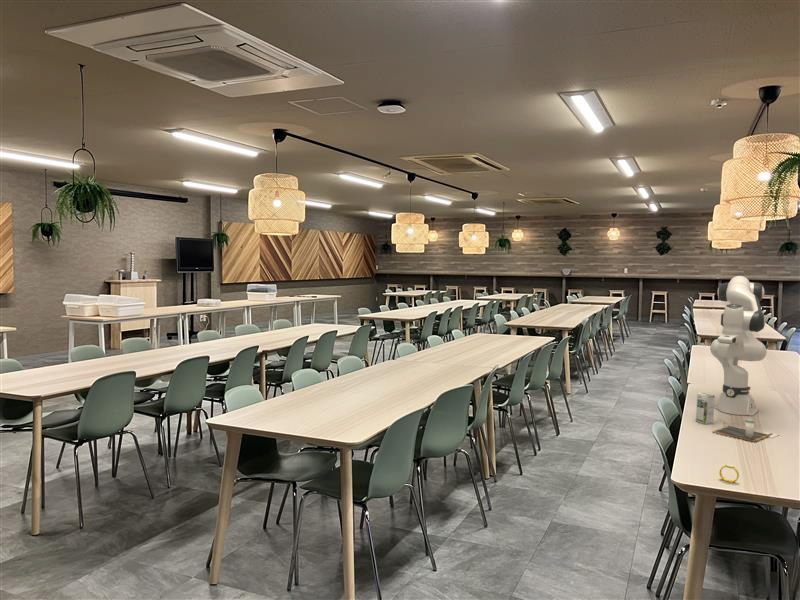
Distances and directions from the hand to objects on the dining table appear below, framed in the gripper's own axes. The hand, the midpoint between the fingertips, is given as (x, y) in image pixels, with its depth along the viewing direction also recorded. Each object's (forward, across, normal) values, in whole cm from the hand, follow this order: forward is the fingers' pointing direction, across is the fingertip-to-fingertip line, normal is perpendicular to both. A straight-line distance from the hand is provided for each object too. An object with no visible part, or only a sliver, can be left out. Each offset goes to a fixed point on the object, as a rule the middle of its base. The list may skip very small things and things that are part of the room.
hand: (730, 366), depth 283 cm
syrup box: (+29, +4, -9) cm, 31 cm away
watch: (+30, +79, +34) cm, 91 cm away
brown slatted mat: (+29, +11, +11) cm, 33 cm away
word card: (+29, +1, +19) cm, 35 cm away
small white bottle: (+28, +16, +16) cm, 36 cm away
